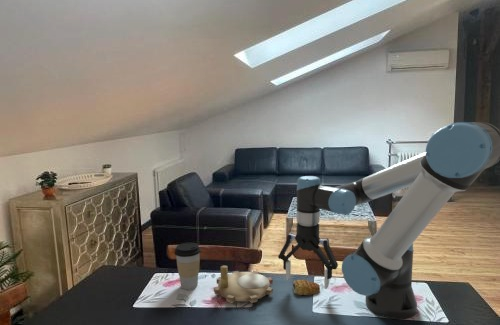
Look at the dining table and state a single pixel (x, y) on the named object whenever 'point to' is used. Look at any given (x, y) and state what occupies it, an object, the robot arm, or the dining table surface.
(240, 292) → the turntable
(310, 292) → the pastry
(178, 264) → the coffee cup
